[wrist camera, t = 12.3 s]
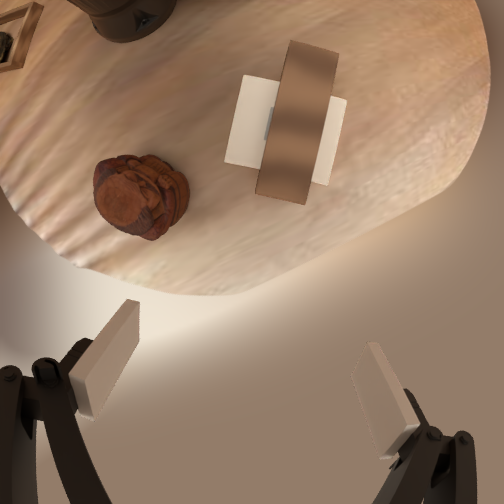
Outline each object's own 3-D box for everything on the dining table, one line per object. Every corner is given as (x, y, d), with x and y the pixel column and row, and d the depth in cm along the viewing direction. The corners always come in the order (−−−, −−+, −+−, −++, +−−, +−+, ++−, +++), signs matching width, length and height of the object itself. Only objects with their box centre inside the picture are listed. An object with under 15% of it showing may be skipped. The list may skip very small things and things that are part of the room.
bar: (286, 53, 30) (290, 40, 26) (329, 65, 31) (339, 53, 26) (255, 188, 36) (255, 193, 31) (298, 198, 36) (304, 205, 32)
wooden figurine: (204, 190, 45) (172, 213, 28) (180, 221, 47) (139, 260, 30) (147, 145, 43) (89, 146, 26) (126, 177, 45) (63, 194, 28)
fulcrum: (244, 76, 39) (240, 59, 31) (345, 101, 40) (364, 91, 32) (224, 162, 44) (216, 164, 35) (326, 185, 45) (341, 193, 36)
